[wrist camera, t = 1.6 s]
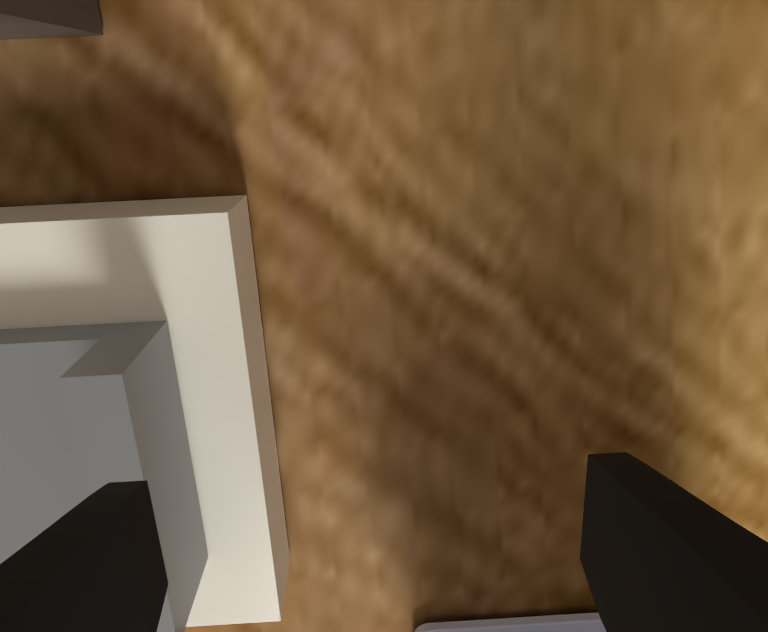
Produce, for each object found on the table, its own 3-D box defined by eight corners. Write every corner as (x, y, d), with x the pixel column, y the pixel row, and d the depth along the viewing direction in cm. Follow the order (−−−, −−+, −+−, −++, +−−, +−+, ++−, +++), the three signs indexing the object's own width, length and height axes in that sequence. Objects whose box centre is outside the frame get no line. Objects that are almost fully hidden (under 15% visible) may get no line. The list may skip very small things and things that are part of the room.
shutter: (167, 320, 15) (121, 374, 12) (208, 556, 17) (178, 648, 14) (-108, 335, 15) (-219, 392, 12) (-29, 571, 17) (-105, 665, 14)
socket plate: (246, 194, 16) (227, 212, 14) (290, 560, 21) (280, 620, 18) (-176, 216, 16) (-266, 237, 14) (-47, 580, 20) (-100, 644, 18)
